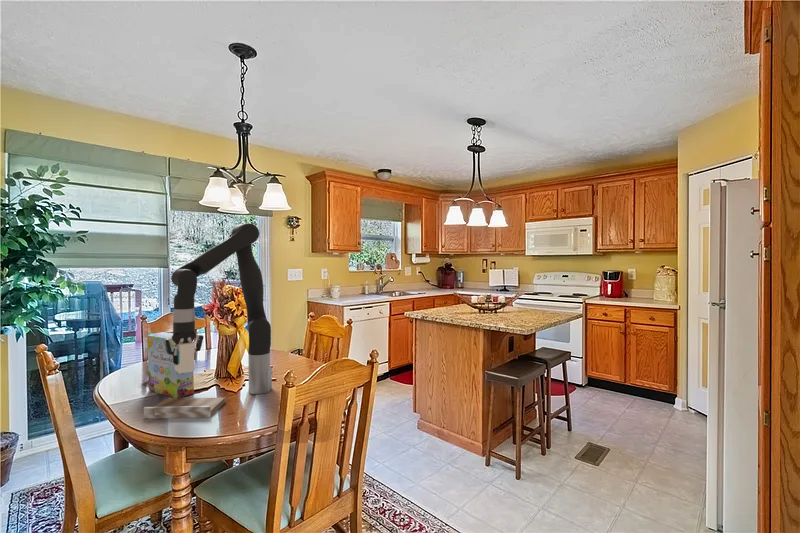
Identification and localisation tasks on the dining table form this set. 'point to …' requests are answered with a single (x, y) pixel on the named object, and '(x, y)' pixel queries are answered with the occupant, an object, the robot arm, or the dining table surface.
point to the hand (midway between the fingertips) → (184, 363)
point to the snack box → (166, 369)
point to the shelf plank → (184, 408)
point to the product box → (185, 358)
